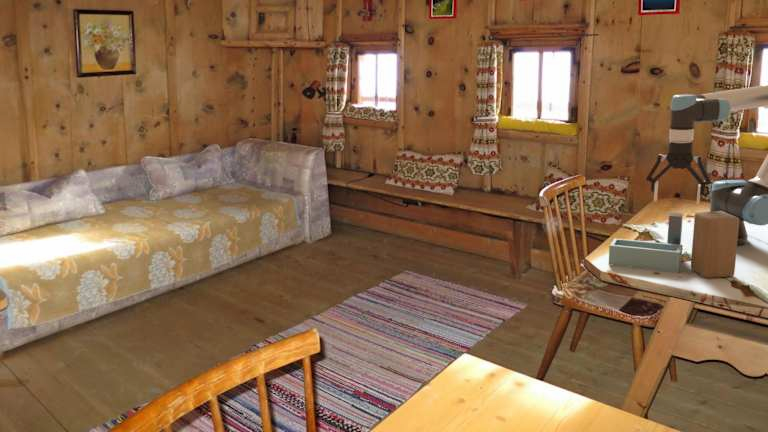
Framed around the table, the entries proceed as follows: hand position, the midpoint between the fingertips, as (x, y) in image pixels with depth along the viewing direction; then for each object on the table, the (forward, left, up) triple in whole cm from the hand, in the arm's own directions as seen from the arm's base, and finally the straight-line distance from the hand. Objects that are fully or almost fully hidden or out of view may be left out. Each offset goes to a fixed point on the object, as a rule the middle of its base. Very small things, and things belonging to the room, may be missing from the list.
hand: (676, 202), depth 228 cm
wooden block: (-13, +11, -21) cm, 27 cm away
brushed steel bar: (0, 0, -20) cm, 21 cm away
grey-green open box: (+8, +10, -20) cm, 24 cm away
